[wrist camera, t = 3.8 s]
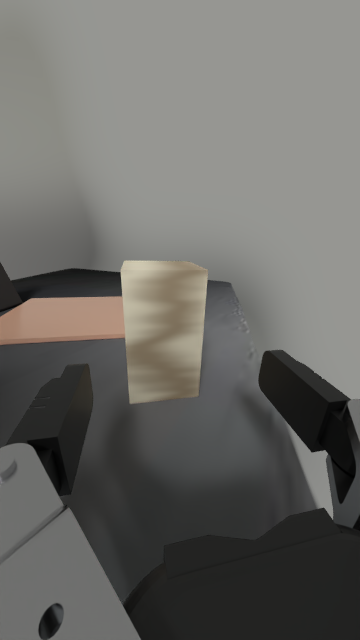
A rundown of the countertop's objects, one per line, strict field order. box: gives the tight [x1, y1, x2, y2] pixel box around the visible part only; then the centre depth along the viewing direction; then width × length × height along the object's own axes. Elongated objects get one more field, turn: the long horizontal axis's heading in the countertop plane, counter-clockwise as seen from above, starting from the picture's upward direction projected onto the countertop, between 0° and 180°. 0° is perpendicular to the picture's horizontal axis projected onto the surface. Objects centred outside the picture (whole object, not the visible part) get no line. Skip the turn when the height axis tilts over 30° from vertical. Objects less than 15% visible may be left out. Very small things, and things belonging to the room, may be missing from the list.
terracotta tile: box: [0, 297, 125, 345], centre depth 33 cm, size 18×18×1 cm
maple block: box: [121, 261, 208, 404], centre depth 17 cm, size 5×5×10 cm
